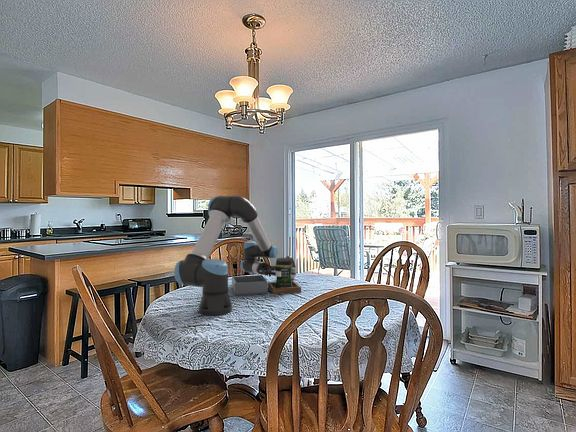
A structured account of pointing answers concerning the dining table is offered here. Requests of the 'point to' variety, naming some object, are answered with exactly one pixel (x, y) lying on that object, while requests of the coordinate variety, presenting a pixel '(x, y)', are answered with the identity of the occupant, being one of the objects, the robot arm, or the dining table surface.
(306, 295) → the dining table surface
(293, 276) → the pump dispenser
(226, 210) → the robot arm
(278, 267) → the coffee jar
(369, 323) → the dining table surface
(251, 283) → the box
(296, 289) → the holder frame
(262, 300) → the dining table surface
